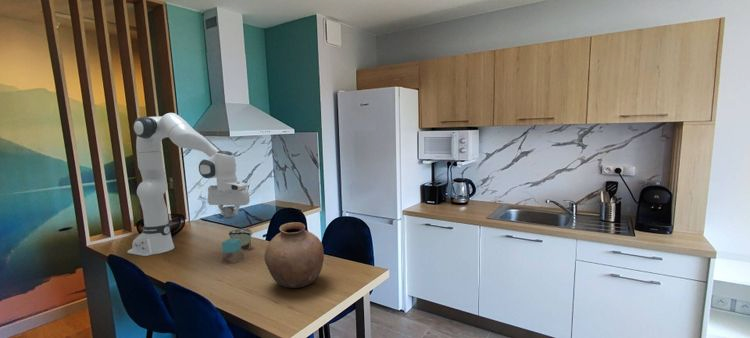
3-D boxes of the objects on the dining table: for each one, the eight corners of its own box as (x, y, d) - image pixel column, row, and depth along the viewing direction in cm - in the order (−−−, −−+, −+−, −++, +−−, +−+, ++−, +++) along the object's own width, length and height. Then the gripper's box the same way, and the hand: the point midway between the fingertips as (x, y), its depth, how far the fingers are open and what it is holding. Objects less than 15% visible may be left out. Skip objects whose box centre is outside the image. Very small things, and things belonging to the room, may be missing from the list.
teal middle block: (222, 252, 171) (221, 242, 170) (230, 248, 176) (229, 238, 176) (234, 253, 169) (233, 242, 169) (241, 248, 175) (240, 239, 175)
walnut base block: (222, 263, 171) (221, 253, 170) (230, 257, 177) (229, 248, 177) (235, 263, 169) (234, 253, 169) (243, 258, 176) (242, 248, 175)
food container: (257, 246, 193) (255, 228, 192) (252, 250, 187) (250, 231, 186) (235, 246, 195) (233, 228, 193) (229, 250, 188) (228, 231, 187)
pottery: (300, 268, 160) (297, 214, 158) (337, 281, 146) (334, 221, 143) (255, 287, 143) (250, 226, 140) (291, 303, 128) (287, 236, 125)
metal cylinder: (221, 218, 169) (221, 208, 168) (228, 215, 174) (227, 205, 173) (231, 218, 168) (230, 208, 167) (237, 216, 173) (236, 205, 172)
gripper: (203, 186, 168) (205, 215, 170) (242, 186, 164) (245, 216, 166) (212, 184, 174) (214, 212, 176) (250, 184, 170) (252, 212, 172)
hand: (229, 214), depth 171 cm, fingers closed on metal cylinder, 5 cm apart
